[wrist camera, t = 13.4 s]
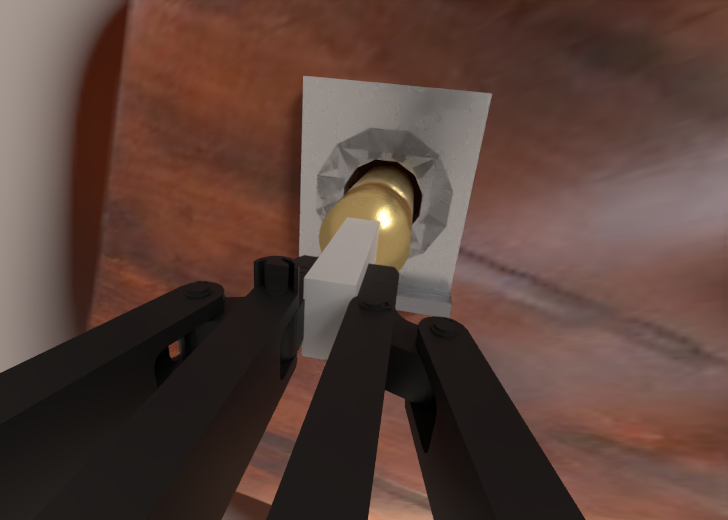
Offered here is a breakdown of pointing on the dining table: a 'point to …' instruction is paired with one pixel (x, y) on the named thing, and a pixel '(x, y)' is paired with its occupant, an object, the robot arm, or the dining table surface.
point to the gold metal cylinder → (378, 212)
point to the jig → (403, 145)
